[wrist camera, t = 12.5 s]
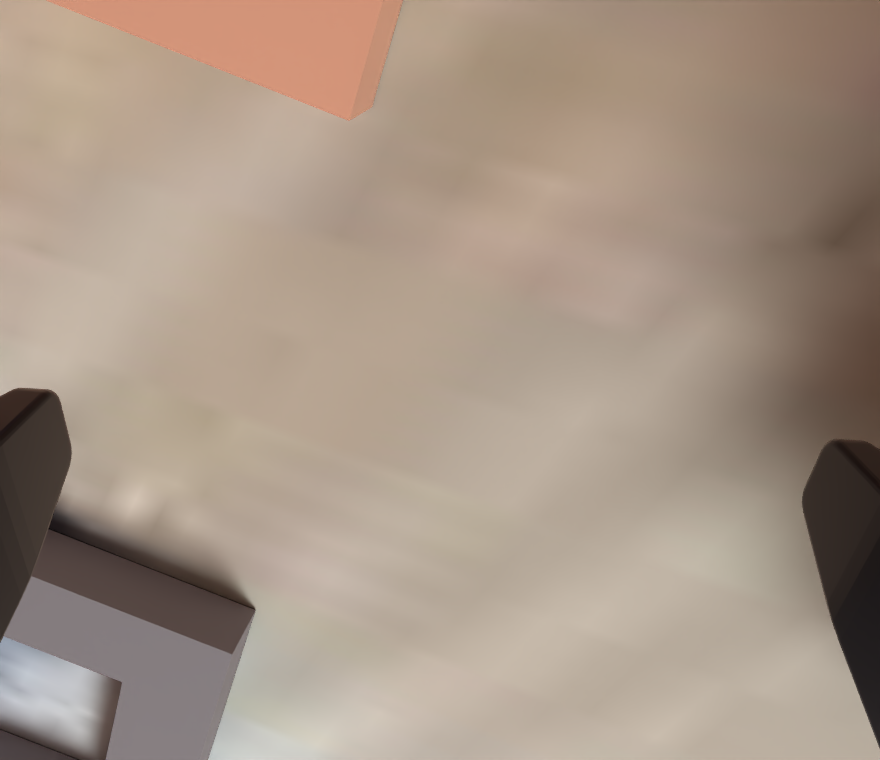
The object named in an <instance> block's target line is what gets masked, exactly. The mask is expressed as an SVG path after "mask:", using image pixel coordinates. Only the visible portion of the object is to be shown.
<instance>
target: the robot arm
mask: <svg viewBox="0 0 880 760" xmlns="http://www.w3.org/2000/svg"><path fill="white" fill-rule="evenodd" d="M71 454H72V451H71V443H70V439H69V434H68V430H67V426H66V422H65V418H64V414H63V410H62V406H61V402H60V400H59V397H58V396H57V394H56V393H55V392H53V391H52V390H48V389H33V388H17V389H14V390H11V391H9V392H7V393H6V394H4V395H2V396H0V642H1V640H2V638H3V636H4V634H5V632H6V630H7V628H8V626H9V624H10V622H11V619H12V617H13V615H14V613H15V611H16V609H17V607H18V605H19V603H20V601H21V599H22V596H23V594H24V592H25V590H26V588H27V585H28V583H29V581H30V579H31V576H32V573H33V571H34V568H35V565H36V563H37V560H38V557H39V554H40V551H41V548H42V546H43V543H44V540H45V537H46V534H47V531H48V528H49V525H50V522H51V519H52V516H53V513H54V510H55V508H56V505H57V502H58V499H59V496H60V493H61V490H62V487H63V484H64V481H65V478H66V475H67V472H68V470H69V466H70V462H71ZM802 507H803V513H804V517H805V520H806V524H807V528H808V532H809V536H810V540H811V544H812V548H813V552H814V556H815V560H816V563H817V567H818V571H819V575H820V579H821V583H822V587H823V591H824V595H825V599H826V603H827V606H828V609H829V613H830V616H831V620H832V623H833V626H834V629H835V631H836V634H837V637H838V640H839V643H840V645H841V648H842V651H843V653H844V656H845V659H846V661H847V664H848V666H849V669H850V672H851V674H852V677H853V680H854V682H855V685H856V687H857V690H858V693H859V695H860V698H861V701H862V703H863V706H864V708H865V711H866V714H867V716H868V719H869V722H870V724H871V727H872V730H873V732H874V735H875V737H876V740H877V743H878V745H879V748H880V450H879V449H878V448H876V447H875V446H873V445H871V444H870V443H868V442H865V441H860V440H844V439H833V440H831V441H829V442H827V443H826V444H825V445H824V447H823V449H822V450H821V453H820V455H819V457H818V459H817V462H816V464H815V466H814V468H813V470H812V473H811V475H810V477H809V479H808V481H807V484H806V486H805V488H804V491H803V496H802Z"/></svg>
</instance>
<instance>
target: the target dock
mask: <svg viewBox="0 0 880 760" xmlns="http://www.w3.org/2000/svg"><path fill="white" fill-rule="evenodd" d="M47 1H49V2H52V3H54V4H57V5H59V6H62V7H64V8H67V9H69V10H72V11H74V12H77V13H79V14H82V15H84V16H87V17H90V18H92V19H95V20H97V21H100V22H102V23H105V24H107V25H110V26H112V27H115V28H117V29H120V30H122V31H125V32H127V33H130V34H132V35H135V36H137V37H140V38H142V39H145V40H147V41H150V42H152V43H155V44H157V45H160V46H162V47H165V48H167V49H170V50H173V51H175V52H178V53H180V54H183V55H185V56H188V57H190V58H193V59H195V60H198V61H200V62H203V63H205V64H208V65H210V66H213V67H215V68H218V69H220V70H223V71H225V72H228V73H230V74H233V75H235V76H238V77H240V78H243V79H245V80H248V81H250V82H253V83H255V84H258V85H261V86H263V87H266V88H268V89H271V90H273V91H276V92H278V93H281V94H283V95H286V96H288V97H291V98H293V99H296V100H298V101H301V102H303V103H306V104H308V105H311V106H313V107H316V108H318V109H321V110H323V111H326V112H328V113H331V114H333V115H336V116H338V117H341V118H343V119H346V120H349V121H350V120H351V119H353V118H355V117H356V116H358V115H360V114H361V113H363V112H365V111H366V110H368V109H370V108H371V107H372V105H373V102H374V98H375V95H376V91H377V88H378V84H379V81H380V78H381V74H382V71H383V67H384V64H385V60H386V57H387V54H388V50H389V47H390V43H391V40H392V36H393V33H394V30H395V26H396V23H397V19H398V16H399V13H400V9H401V6H402V2H403V0H47Z"/></svg>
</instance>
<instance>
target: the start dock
mask: <svg viewBox="0 0 880 760" xmlns="http://www.w3.org/2000/svg"><path fill="white" fill-rule="evenodd" d="M255 611H256V610H254V609H251V608H249V607H246V606H244V605H241V604H239V603H236V602H234V601H231V600H228V599H226V598H223V597H221V596H218V595H216V594H213V593H211V592H208V591H205V590H203V589H200V588H198V587H195V586H193V585H190V584H188V583H185V582H182V581H180V580H177V579H175V578H172V577H170V576H167V575H164V574H162V573H159V572H157V571H154V570H152V569H149V568H147V567H144V566H141V565H139V564H136V563H134V562H131V561H129V560H126V559H124V558H121V557H118V556H116V555H113V554H111V553H108V552H106V551H103V550H101V549H98V548H95V547H93V546H90V545H88V544H85V543H83V542H80V541H77V540H75V539H72V538H70V537H67V536H65V535H62V534H60V533H57V532H54V531H52V530H49V529H48V531H47V534H46V537H45V540H44V543H43V546H42V548H41V551H40V554H39V557H38V560H37V563H36V565H35V568H34V571H33V573H32V576H31V579H30V581H29V583H28V585H27V588H26V590H25V592H24V594H23V596H22V599H21V601H20V603H19V605H18V607H17V609H16V611H15V613H14V615H13V617H12V619H11V622H10V624H9V626H8V628H7V630H6V632H5V634H4V636H5V637H7V638H10V639H12V640H15V641H17V642H20V643H23V644H25V645H28V646H30V647H33V648H35V649H38V650H41V651H43V652H46V653H48V654H51V655H53V656H56V657H59V658H61V659H64V660H66V661H69V662H71V663H74V664H77V665H79V666H82V667H84V668H87V669H89V670H92V671H94V672H97V673H100V674H102V675H105V676H107V677H110V678H112V679H115V680H118V681H120V682H122V686H121V690H120V695H119V700H118V704H117V709H116V714H115V718H114V723H113V728H112V732H111V737H110V742H109V746H108V751H107V756H106V760H208V758H209V755H210V752H211V748H212V745H213V742H214V739H215V736H216V733H217V730H218V727H219V723H220V720H221V717H222V714H223V711H224V708H225V705H226V701H227V698H228V695H229V692H230V689H231V686H232V683H233V680H234V676H235V673H236V670H237V667H238V664H239V661H240V658H241V655H242V651H243V648H244V645H245V642H246V639H247V636H248V633H249V629H250V626H251V623H252V620H253V617H254V614H255ZM0 760H77V759H74V758H72V757H69V756H66V755H64V754H61V753H59V752H56V751H53V750H51V749H48V748H46V747H43V746H41V745H38V744H35V743H33V742H30V741H28V740H25V739H23V738H20V737H17V736H15V735H12V734H10V733H7V732H5V731H2V730H0Z"/></svg>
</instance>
